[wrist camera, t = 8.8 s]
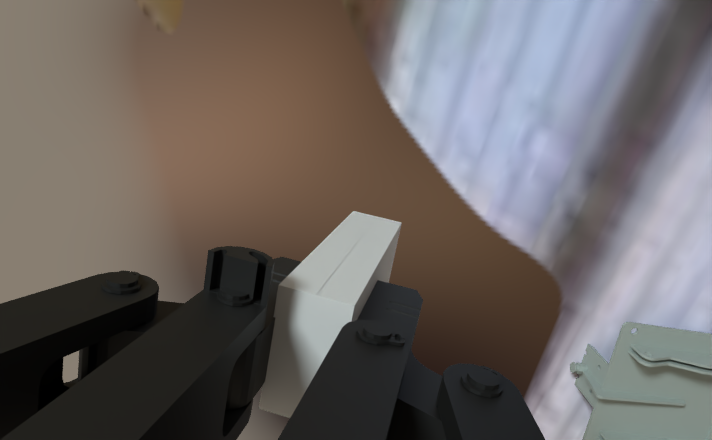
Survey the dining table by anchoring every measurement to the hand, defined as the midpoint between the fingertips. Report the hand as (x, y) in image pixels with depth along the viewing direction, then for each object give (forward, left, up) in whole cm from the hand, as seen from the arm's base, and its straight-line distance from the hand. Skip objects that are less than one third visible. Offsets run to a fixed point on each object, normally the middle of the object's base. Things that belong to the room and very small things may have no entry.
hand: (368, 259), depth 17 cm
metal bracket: (+13, +21, -27) cm, 37 cm away
